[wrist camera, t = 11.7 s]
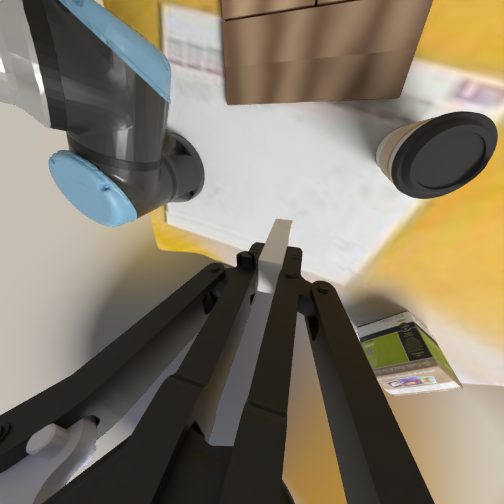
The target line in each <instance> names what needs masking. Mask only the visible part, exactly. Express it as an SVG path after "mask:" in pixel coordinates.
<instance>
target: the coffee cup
mask: <svg viewBox="0 0 504 504" xmlns="http://www.w3.org/2000/svg"><path fill="white" fill-rule="evenodd" d="M497 138H498V134H497V129H496V126H495V124H494V123H493V121H492V120H491V119H490V118H488V117H487V116H485V115H483V114H479V113H473V112H464V111H462V112H453V113H448V114H444V115H441V116H439V117H435V118H431V119H427V120H423V121H420V122H416V123H412V124H409V125H407V126H404V127H400V128H397V129H395V130H394V131H392V132H390V133H389V134H388V135H387V136H386V137H385V138H384V139H383V140H382V141H381V143H380V144H379V146H378V148H377V151H376V162H377V164H378V166H379V167H380V168H381V170H382V172H383V173H384V174H385V175H386V176H387V177H388V179H389V180H390V181H391V182H392V183H393V184H394V185H395V186H396V188H397V189H398V190H399V191H401V192H402V193H404V194H406V195H408V196H410V197H413V198H419V199H429V198H435V197H440V196H443V195H446V194H448V193H451V192H453V191H455V190H457V189H459V188H460V187H462V186H464V185H465V184H466V183H468V182H469V181H471V180H472V179H474V178H475V177H476V176H477V175H478V174H479V173H480V172H481V171H482V170H483V169H484V168H485V167H486V165H487V163H488V161H489V160H490V158H491V157H492V155H493V153H494V150H495V148H496V144H497Z"/></svg>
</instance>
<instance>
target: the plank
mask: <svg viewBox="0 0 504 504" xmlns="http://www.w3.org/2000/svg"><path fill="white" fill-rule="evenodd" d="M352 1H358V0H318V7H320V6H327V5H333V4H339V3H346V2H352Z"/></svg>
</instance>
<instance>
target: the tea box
mask: <svg viewBox="0 0 504 504" xmlns="http://www.w3.org/2000/svg"><path fill="white" fill-rule="evenodd" d="M357 330H358V335H359V338H360V343H361V346H362V348H363V350H364V352H365V354H366V356H367V359H368V361H369V363H370V365H371V367H372V369H373V372H374V374H375V376H376V378H377V380H378V382H379V385H380V386H381V387H382V388H383V389H385V390H386V391H387V392H389V393H390V394H391V395H392V396H400V395H410V394H419V393H430V392H439V391H447V390H456V389H463V387H462V385H461V383H460V382H459V380H458V378H457V376H456V375H455V373H454V371H453V370H452V368H451V366H450V365H449V363H448V362H447V360H446V358H445V356H444V355H443V353H442V351H441V349H440V348H439V346H438V344H437V343H436V341H435V339H434V338H433V336H432V335H431V333H430V332H429V330H427V329H426V328H425V327H424V326H423V325H422V324H421V323H420V322H419V321H418V320H417V319H416V318H415V317H414V316H413V315H412V314H411V313H409V312H408V311H406V312H403V313H400V314H398V315H395V316H392V317H389V318H386V319H383V320H380V321H377V322H374V323H371V324H368V325H365V326H362V327H359V328H357Z"/></svg>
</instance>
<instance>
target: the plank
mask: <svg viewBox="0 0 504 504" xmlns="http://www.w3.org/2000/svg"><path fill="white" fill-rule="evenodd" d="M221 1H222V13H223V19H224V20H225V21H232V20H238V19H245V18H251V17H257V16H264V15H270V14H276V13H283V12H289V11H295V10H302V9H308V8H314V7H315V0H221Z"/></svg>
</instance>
